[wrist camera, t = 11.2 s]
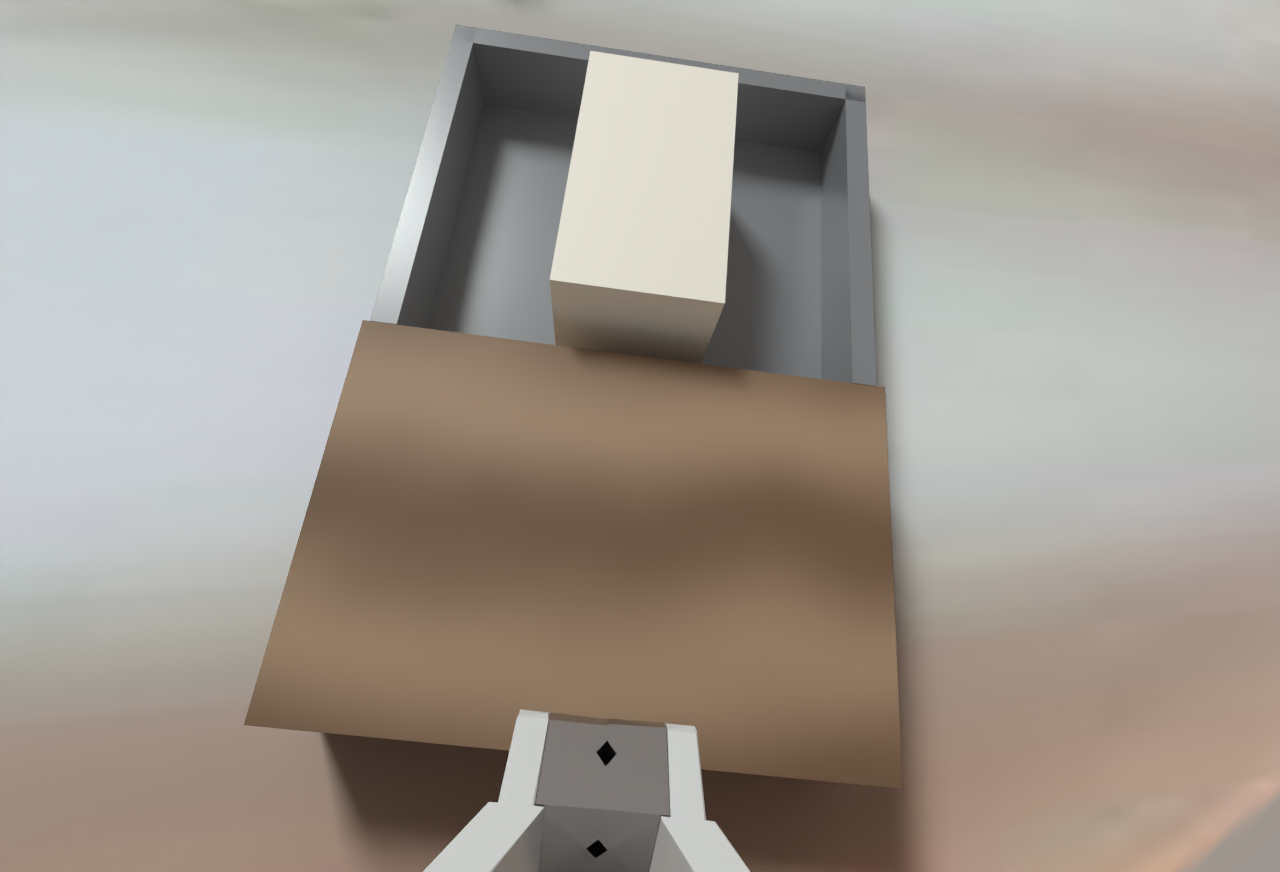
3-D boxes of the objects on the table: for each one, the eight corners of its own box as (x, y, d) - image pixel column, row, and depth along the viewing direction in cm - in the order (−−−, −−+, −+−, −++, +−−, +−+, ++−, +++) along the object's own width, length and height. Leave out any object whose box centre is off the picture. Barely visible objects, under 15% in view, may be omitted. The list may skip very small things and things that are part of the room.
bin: (834, 425, 23) (876, 385, 20) (402, 370, 22) (370, 320, 19) (831, 155, 27) (864, 87, 24) (471, 102, 27) (455, 24, 23)
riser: (839, 762, 19) (902, 789, 15) (314, 710, 18) (243, 725, 14) (834, 431, 23) (884, 387, 19) (400, 377, 22) (362, 320, 18)
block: (725, 303, 17) (738, 73, 20) (549, 279, 17) (590, 50, 20) (695, 378, 22) (710, 181, 25) (556, 360, 22) (589, 164, 25)
